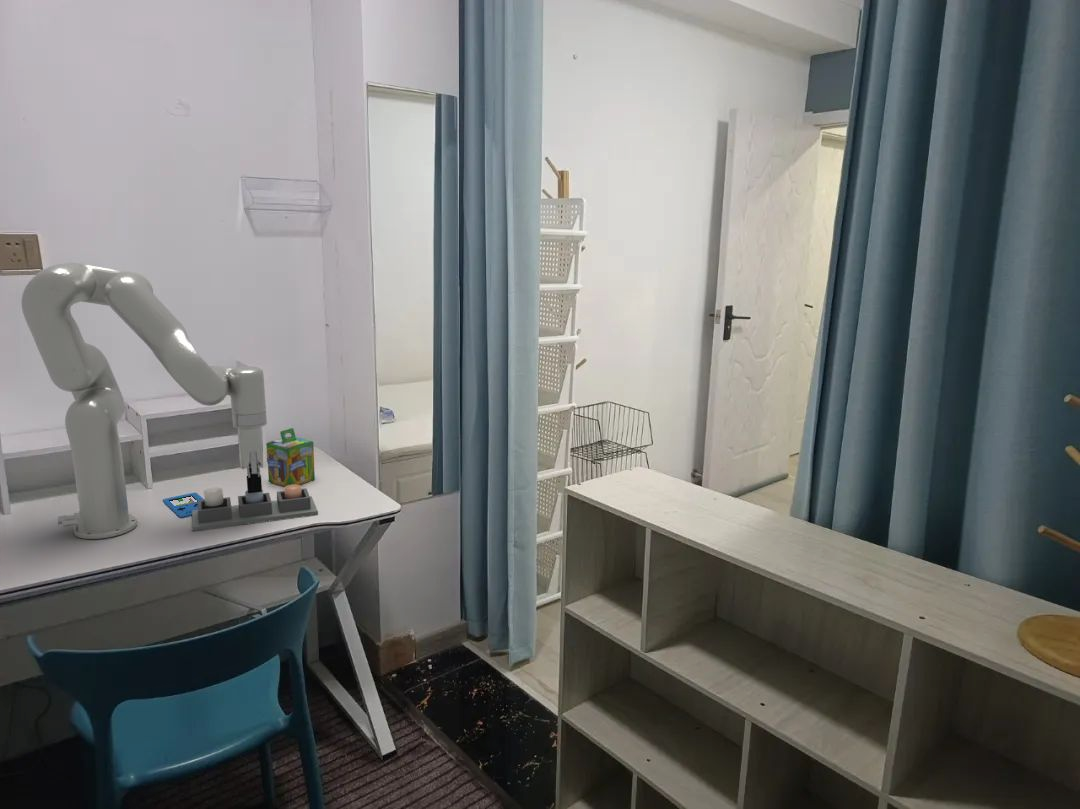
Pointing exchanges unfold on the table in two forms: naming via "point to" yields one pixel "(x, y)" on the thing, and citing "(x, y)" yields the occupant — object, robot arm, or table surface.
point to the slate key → (254, 497)
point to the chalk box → (290, 460)
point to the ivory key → (213, 496)
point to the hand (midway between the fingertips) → (254, 491)
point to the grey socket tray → (252, 511)
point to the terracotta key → (293, 491)
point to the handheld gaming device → (183, 505)
